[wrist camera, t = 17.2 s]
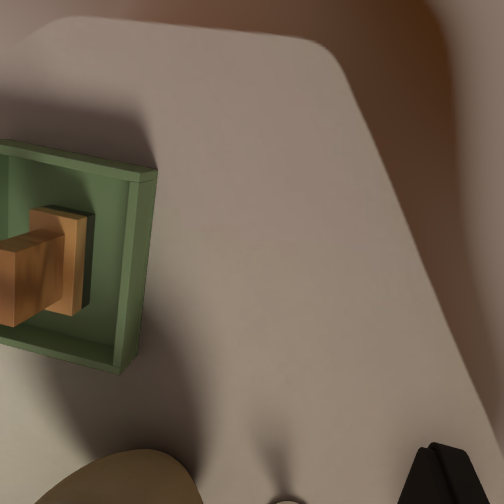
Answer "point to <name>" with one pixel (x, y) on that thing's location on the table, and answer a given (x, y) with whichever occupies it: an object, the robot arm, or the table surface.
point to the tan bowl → (127, 481)
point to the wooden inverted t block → (47, 265)
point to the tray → (104, 249)
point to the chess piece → (287, 502)
